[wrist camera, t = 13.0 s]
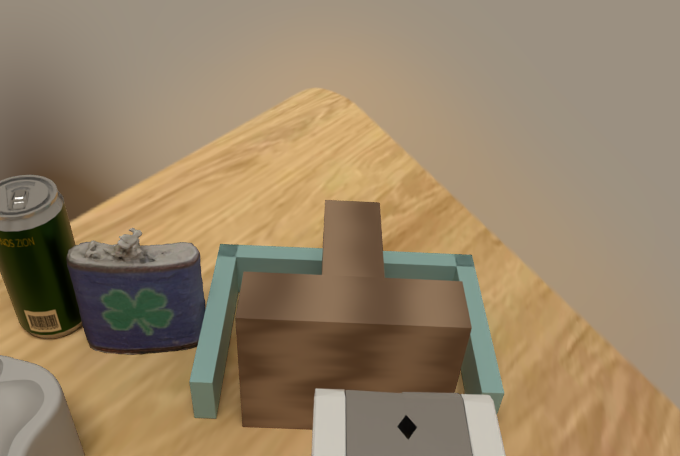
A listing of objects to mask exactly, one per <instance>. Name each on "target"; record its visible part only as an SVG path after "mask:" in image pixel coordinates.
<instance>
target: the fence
mask: <svg viewBox="0 0 680 456" xmlns="http://www.w3.org/2000/svg"><path fill="white" fill-rule="evenodd" d="M322 254H323V249H322V248H299V247H276V246H252V245H229V244H220V247H219V252H218V256H217V261H216V265H215V270H214V274H213V279H212V283H211V288H210V292H209V297H208V301H207V306H206V310H205V315H204V319H203V324H202V328H201V333H200V337H199V342H198V346H197V350H196V355H195V359H194V364H193V368H192V373H191V377H190V389H191V396H192V403H193V410H194V417H195V418H216V417H217V411H218V405H219V400H220V394H221V388H222V383H223V377H224V371H225V365H226V360H227V354H228V348H229V342H230V337H231V331H232V325H233V319H234V314H235V308H236V302H237V296H238V292H240V289H241V284H242V278H243V272H267V273H289V274H311V275H321V273H322ZM383 259H384V273H385V278H401V279H423V280H445V281H462V282H463V287H464V291H465V296H466V301H467V306H468V311H469V316H470V321H471V326H472V329H471V333H470V337H469V341H468V344H467V348H466V352H465V355H464V359H463V363H462V366H461V373H462V378H463V384H464V390H465V394H483V395H490V396H491V398H492V399H493V401H494V405H495V410H496V415H497V413H498V410H499V407H500V404H501V401H502V398H503V396H504V390H503V386H502V381H501V377H500V373H499V369H498V364H497V360H496V356H495V352H494V347H493V343H492V339H491V335H490V330H489V326H488V322H487V318H486V313H485V309H484V305H483V301H482V296H481V292H480V288H479V284H478V279H477V275H476V271H475V267H474V262H473V258H472V255H462V254H439V253H415V252H392V251H383Z"/></svg>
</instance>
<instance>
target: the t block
mask: <svg viewBox="0 0 680 456" xmlns="http://www.w3.org/2000/svg"><path fill="white" fill-rule="evenodd" d="M235 320H236V335H237V350H238V365H239V379H240V394H241V409H242V424H243V427H262V428H288V429H313V412H314V395H315V389H316V388H317V389H344V390H358V391H376V392H394V393H402V392H432V393H454V392H455V388H456V385H457V381H458V377H459V374H460V370H461V366H462V363H463V359H464V355H465V352H466V348H467V344H468V341H469V337H470V333H471V329H472V326H471V321H470V316H469V311H468V306H467V301H466V296H465V291H464V287H463V282H462V281H445V280H423V279H401V278H385V273H384V259H383V244H382V230H381V215H380V203H377V202H357V201H336V200H325V215H324V234H323V254H322V273H321V275H311V274H289V273H267V272H243V278H242V284H241V289H240V295H239V300H238V306H237V312H236V317H235Z"/></svg>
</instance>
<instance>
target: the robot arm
mask: <svg viewBox="0 0 680 456" xmlns="http://www.w3.org/2000/svg"><path fill="white" fill-rule="evenodd" d="M311 456H506V455H505V451H504V446H503V442H502V437H501V433H500V428H499V424H498V419H497V415H496V410H495V405H494V401H493V399H492V398H491V396H490V395H483V394H459V393H432V392H402V393H394V392H376V391H358V390H344V389H317V388H316V389H315V395H314V412H313V432H312V453H311Z"/></svg>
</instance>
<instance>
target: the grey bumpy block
mask: <svg viewBox="0 0 680 456" xmlns="http://www.w3.org/2000/svg"><path fill="white" fill-rule="evenodd" d="M0 456H85V455H84V451H83V448H82V445H81V442H80V440H79V437H78V434H77V431H76V428H75V425H74V422H73V419H72V416H71V414H70V411H69V408H68V405H67V402H66V399H65V396H64V393H63V391H62V388H61V386H60V384H59V382H58V381H57V379H56V378H55V377H54V375H52V374H51V373H50V372H49V371H48V370H46V369H45V368H43V367H41V366H39V365H37V364H33V363H30V362H27V361H22V360H18V359H14V358H11V357H7V356H2V355H0Z"/></svg>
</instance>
